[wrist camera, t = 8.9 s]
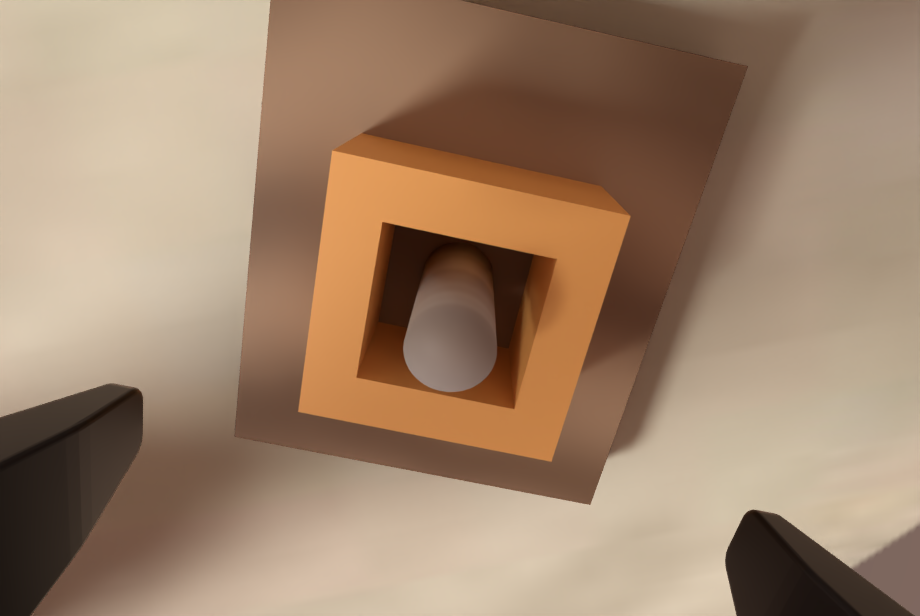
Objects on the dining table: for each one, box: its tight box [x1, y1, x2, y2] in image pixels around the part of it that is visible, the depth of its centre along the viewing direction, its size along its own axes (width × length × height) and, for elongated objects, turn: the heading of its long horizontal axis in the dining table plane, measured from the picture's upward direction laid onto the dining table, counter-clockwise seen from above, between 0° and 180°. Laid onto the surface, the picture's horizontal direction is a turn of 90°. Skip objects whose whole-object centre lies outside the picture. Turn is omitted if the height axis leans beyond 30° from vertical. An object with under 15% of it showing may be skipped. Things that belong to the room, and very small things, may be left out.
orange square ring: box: [298, 133, 631, 462], centre depth 16 cm, size 7×7×4 cm
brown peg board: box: [235, 0, 748, 505], centre depth 16 cm, size 14×12×7 cm
